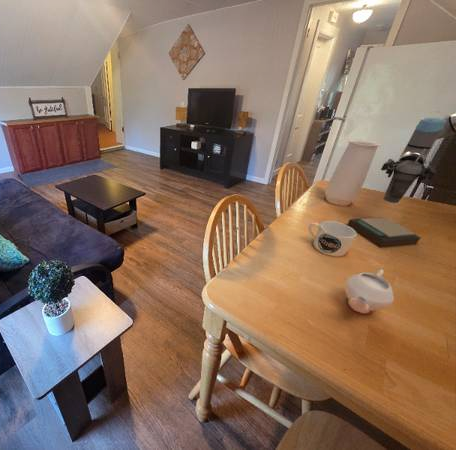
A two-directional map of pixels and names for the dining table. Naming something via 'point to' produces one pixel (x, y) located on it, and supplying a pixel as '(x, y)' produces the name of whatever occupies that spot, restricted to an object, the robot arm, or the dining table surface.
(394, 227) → the scale
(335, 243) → the mug
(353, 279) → the teapot
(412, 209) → the dining table surface
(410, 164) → the beverage cup
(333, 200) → the vase
